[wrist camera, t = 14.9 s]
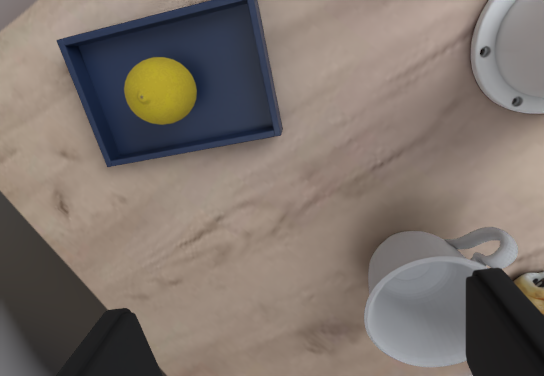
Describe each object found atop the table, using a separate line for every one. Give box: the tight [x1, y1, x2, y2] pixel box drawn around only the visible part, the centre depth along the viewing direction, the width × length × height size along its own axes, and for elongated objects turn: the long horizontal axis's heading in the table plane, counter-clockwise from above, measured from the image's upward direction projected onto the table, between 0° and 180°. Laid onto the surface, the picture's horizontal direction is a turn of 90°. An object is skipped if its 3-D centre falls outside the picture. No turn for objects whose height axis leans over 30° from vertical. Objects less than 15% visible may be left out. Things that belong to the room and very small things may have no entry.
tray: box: [57, 0, 283, 167], centre depth 32 cm, size 18×12×3 cm
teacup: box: [364, 227, 518, 367], centre depth 33 cm, size 12×15×10 cm
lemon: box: [124, 57, 197, 125], centre depth 29 cm, size 6×6×8 cm
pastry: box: [513, 272, 544, 315], centre depth 37 cm, size 9×7×4 cm
